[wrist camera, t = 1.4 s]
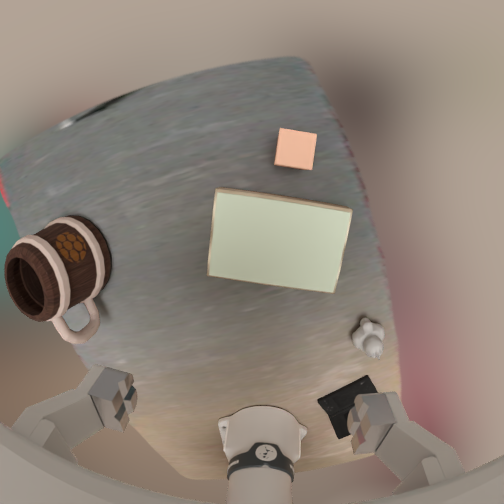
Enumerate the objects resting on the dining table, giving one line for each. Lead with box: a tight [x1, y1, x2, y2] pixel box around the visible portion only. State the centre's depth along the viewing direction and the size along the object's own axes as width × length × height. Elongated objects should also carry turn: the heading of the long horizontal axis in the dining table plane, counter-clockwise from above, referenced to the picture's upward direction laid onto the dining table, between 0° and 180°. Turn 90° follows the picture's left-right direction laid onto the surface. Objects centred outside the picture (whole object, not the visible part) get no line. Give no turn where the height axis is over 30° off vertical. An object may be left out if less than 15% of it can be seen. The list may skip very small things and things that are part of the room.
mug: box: [5, 216, 111, 344], centre depth 38 cm, size 20×15×15 cm
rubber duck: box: [352, 318, 385, 360], centre depth 41 cm, size 5×7×8 cm
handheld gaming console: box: [318, 375, 377, 439], centre depth 47 cm, size 12×7×10 cm
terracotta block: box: [274, 128, 317, 170], centre depth 34 cm, size 4×4×9 cm
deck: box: [207, 187, 353, 294], centre depth 39 cm, size 12×18×4 cm, turn 82°
